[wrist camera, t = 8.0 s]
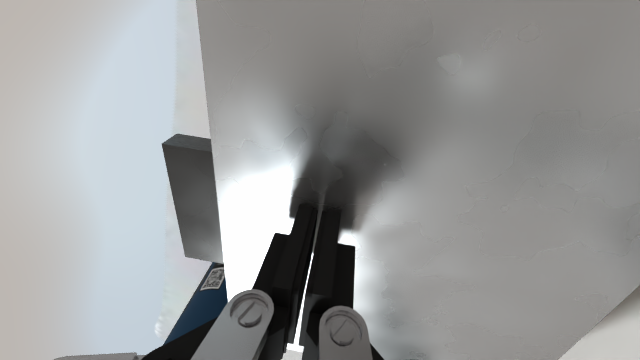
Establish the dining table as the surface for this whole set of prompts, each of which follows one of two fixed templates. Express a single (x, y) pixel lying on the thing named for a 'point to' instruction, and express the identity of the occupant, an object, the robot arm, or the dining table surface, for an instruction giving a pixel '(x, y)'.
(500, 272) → the lid
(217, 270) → the soda can
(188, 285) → the dining table surface
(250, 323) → the robot arm
